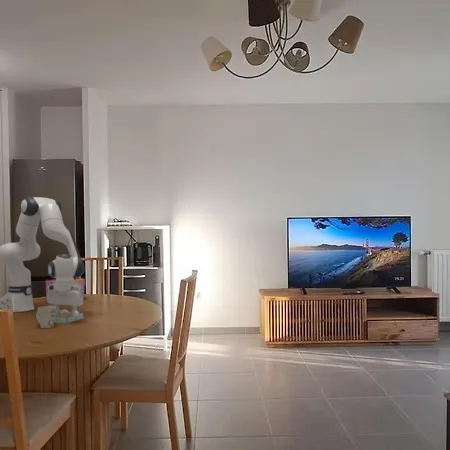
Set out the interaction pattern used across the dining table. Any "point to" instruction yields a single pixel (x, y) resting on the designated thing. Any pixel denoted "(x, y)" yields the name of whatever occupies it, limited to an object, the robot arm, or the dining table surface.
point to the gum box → (77, 283)
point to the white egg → (64, 311)
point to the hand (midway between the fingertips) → (65, 313)
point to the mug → (46, 316)
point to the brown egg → (65, 315)
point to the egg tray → (67, 320)
